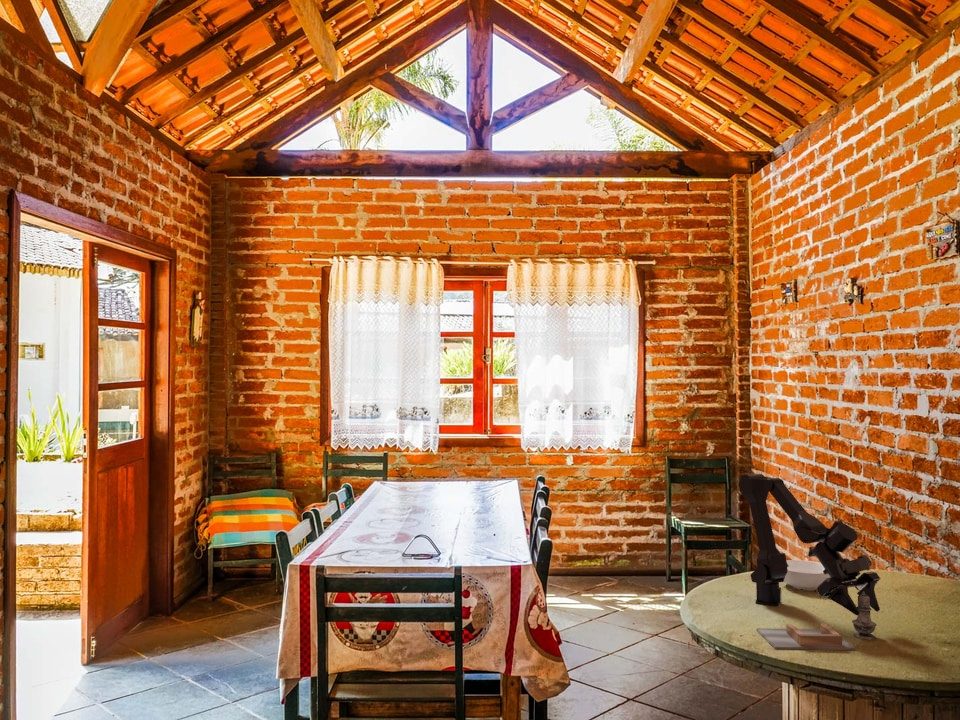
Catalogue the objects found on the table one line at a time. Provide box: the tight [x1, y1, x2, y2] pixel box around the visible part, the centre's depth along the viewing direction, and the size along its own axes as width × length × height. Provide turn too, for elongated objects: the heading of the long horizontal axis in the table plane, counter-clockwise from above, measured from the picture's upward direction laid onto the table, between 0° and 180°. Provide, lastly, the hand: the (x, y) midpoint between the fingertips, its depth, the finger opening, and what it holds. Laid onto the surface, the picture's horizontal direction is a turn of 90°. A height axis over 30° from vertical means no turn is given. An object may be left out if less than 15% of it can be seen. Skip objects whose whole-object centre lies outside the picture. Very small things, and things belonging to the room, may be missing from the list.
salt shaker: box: [851, 591, 878, 641], centre depth 197 cm, size 6×6×12 cm
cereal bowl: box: [783, 559, 831, 591], centre depth 244 cm, size 17×17×7 cm
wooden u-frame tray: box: [756, 623, 856, 651], centre depth 194 cm, size 14×20×3 cm
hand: (868, 612), depth 195 cm, fingers open, 7 cm apart
